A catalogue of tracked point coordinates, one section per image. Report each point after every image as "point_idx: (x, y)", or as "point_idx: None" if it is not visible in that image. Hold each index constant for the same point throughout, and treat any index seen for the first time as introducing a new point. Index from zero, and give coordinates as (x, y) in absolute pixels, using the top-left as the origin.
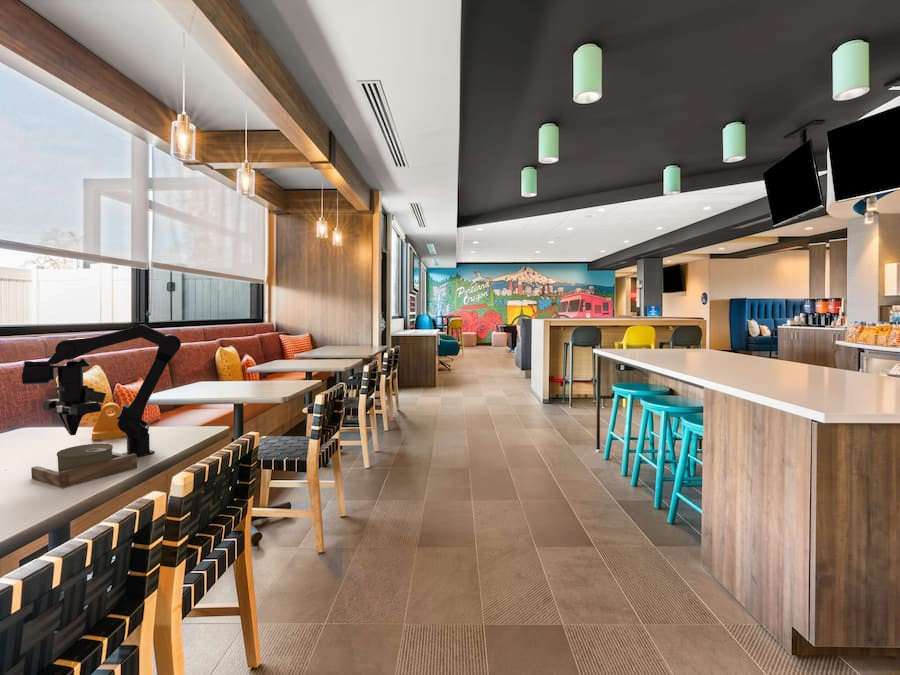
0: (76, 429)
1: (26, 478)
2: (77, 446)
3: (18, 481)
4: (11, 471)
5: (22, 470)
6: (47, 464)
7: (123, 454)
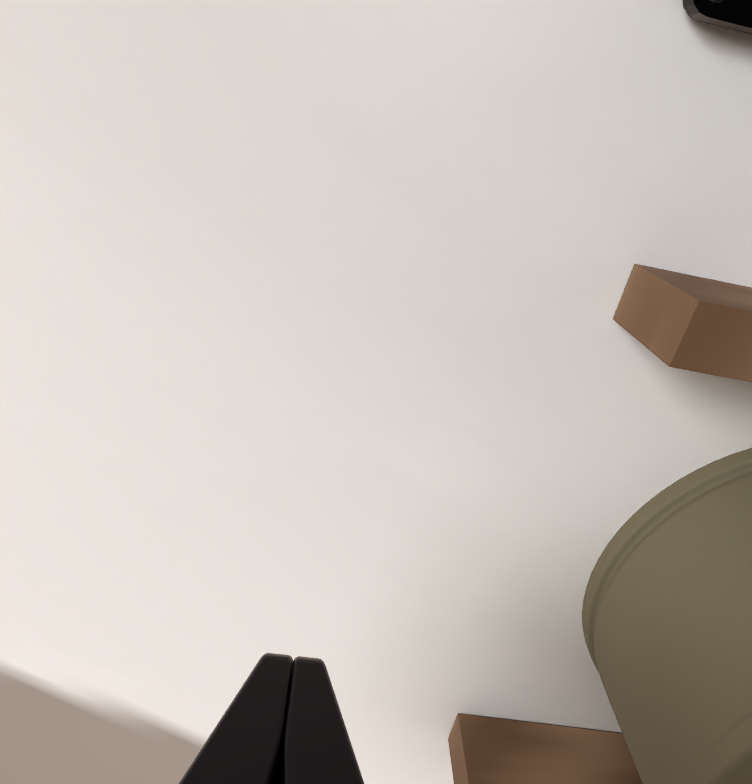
0: (353, 778)
1: (401, 739)
2: (727, 773)
3: (415, 776)
4: (103, 688)
5: (153, 658)
6: (151, 518)
7: (741, 27)
